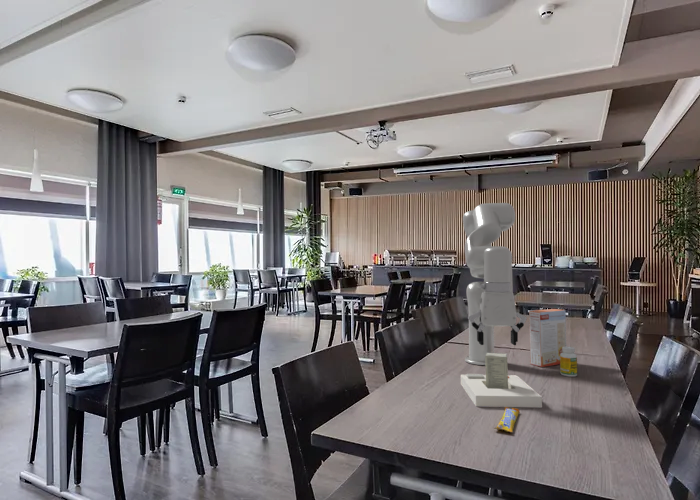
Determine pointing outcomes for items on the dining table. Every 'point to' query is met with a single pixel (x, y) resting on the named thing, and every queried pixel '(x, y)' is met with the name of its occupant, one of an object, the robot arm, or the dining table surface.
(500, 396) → the socket plate
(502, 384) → the skincare box
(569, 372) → the supplement bottle
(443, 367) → the dining table surface
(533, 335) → the cracker box
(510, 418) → the candy bar
